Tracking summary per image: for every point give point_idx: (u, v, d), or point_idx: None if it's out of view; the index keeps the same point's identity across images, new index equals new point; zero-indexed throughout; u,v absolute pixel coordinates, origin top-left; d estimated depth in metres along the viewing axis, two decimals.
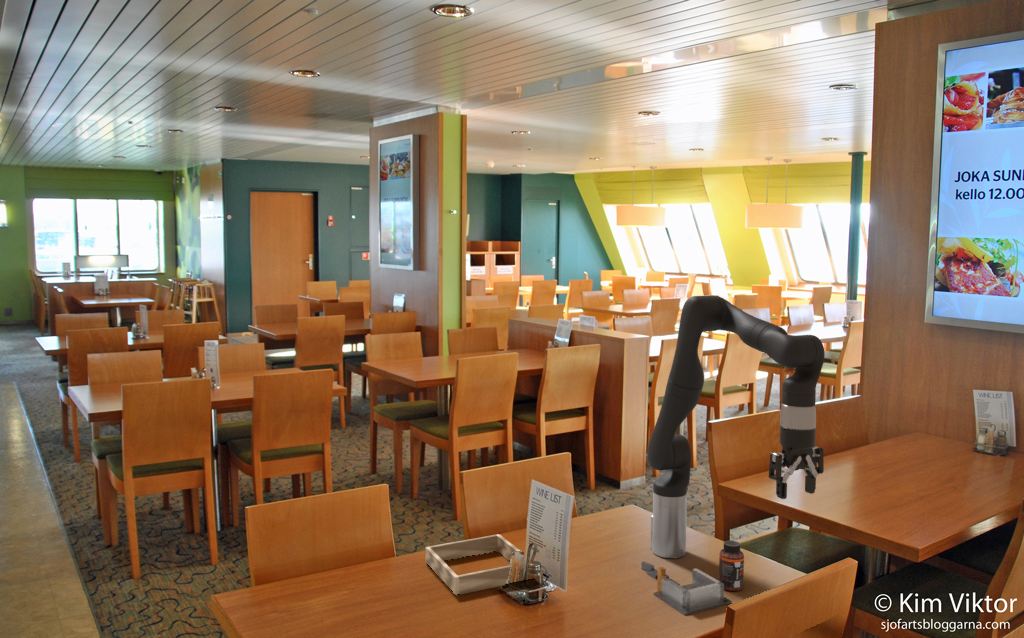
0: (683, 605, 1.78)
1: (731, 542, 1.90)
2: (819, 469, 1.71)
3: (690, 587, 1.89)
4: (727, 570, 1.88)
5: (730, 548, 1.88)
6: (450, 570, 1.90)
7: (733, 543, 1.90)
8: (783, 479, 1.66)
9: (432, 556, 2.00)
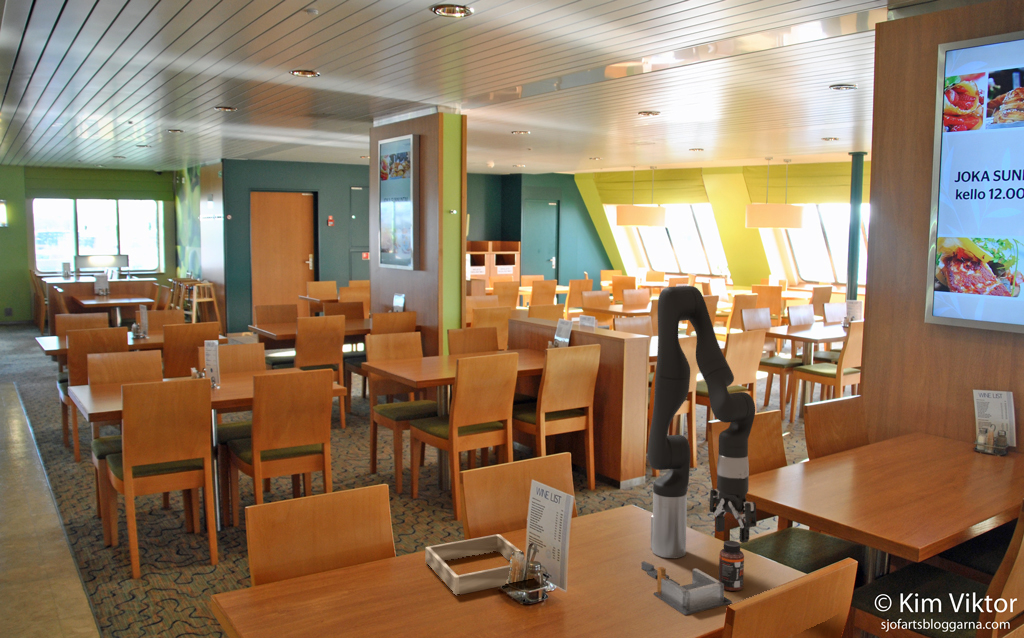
0: (683, 605, 1.78)
1: (731, 542, 1.90)
2: None
3: (690, 587, 1.89)
4: (727, 570, 1.88)
5: (730, 548, 1.88)
6: (450, 570, 1.90)
7: (733, 543, 1.89)
8: None
9: (432, 556, 2.00)
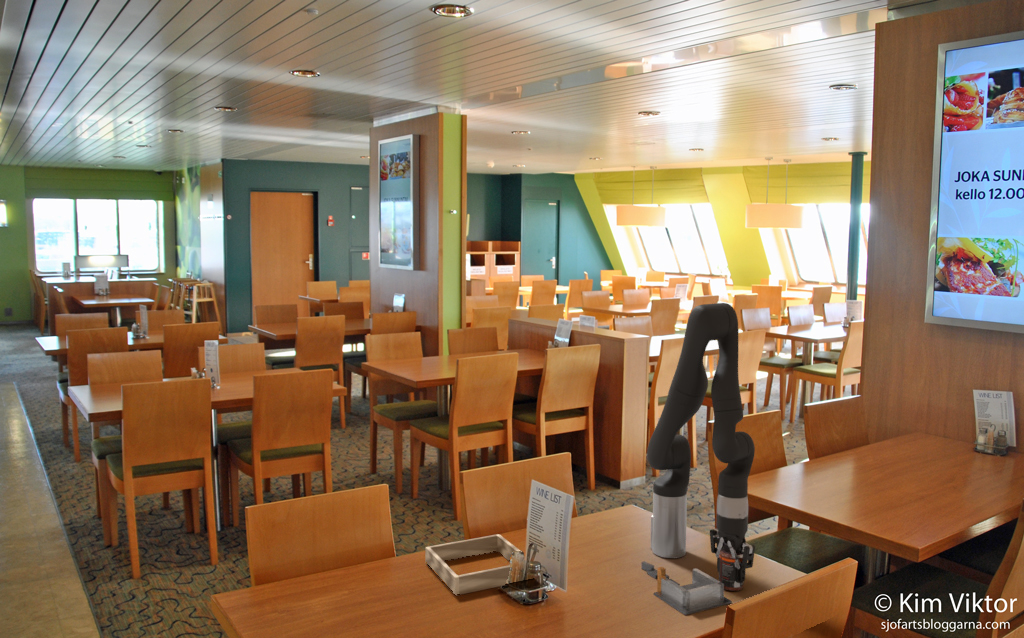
0: (683, 605, 1.78)
1: None
2: None
3: (690, 587, 1.89)
4: (727, 570, 1.88)
5: None
6: (450, 570, 1.90)
7: None
8: None
9: (432, 556, 2.00)
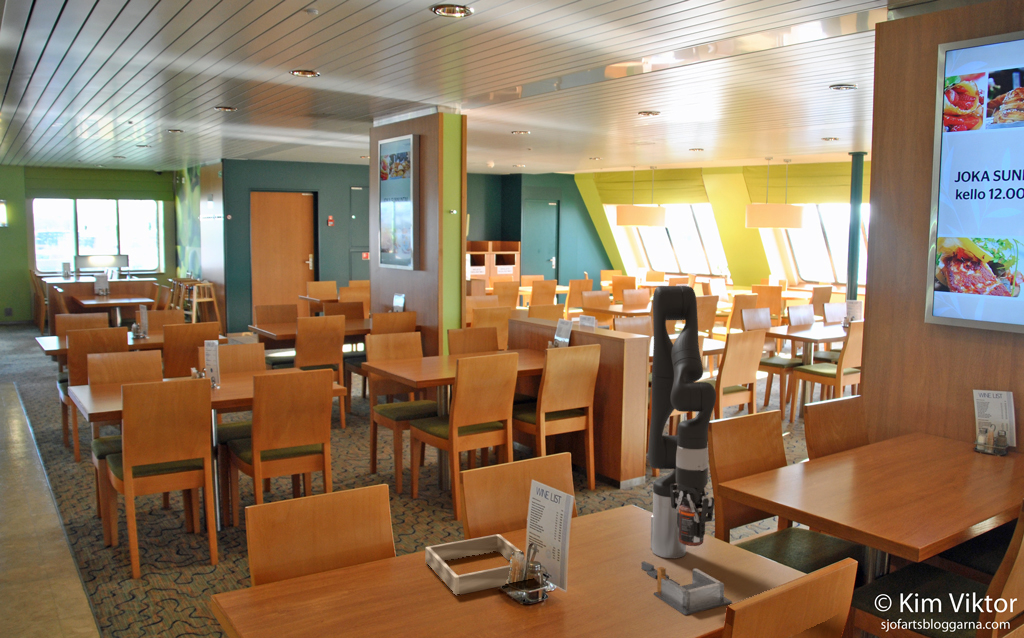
0: (683, 605, 1.78)
1: None
2: None
3: (690, 587, 1.89)
4: (686, 524, 1.81)
5: None
6: (450, 570, 1.90)
7: None
8: None
9: (432, 556, 2.00)
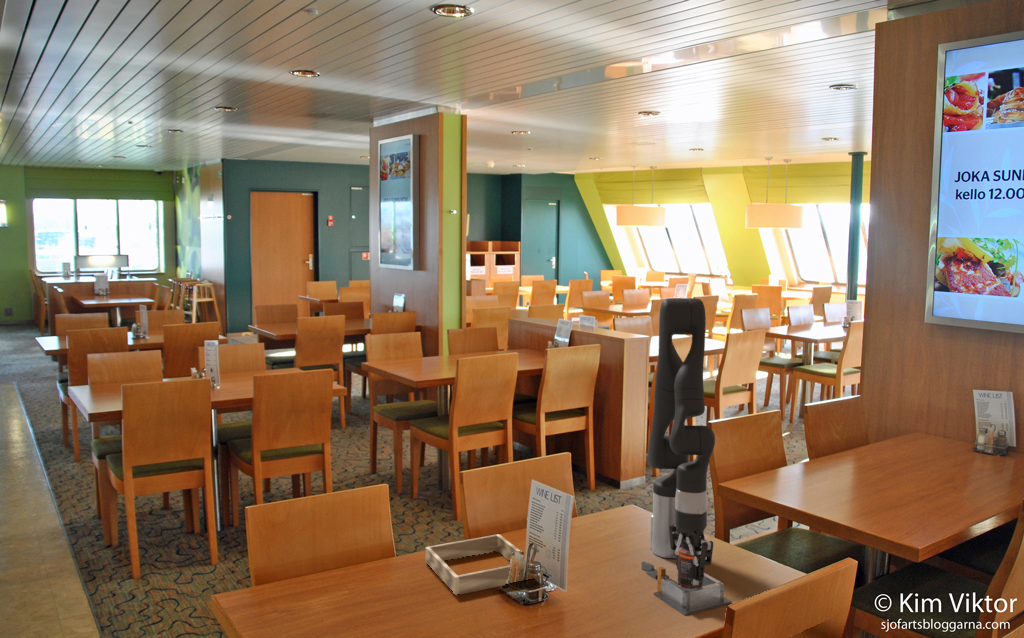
0: (683, 605, 1.78)
1: None
2: None
3: None
4: (685, 567, 1.82)
5: None
6: (450, 570, 1.90)
7: None
8: None
9: (432, 556, 2.00)
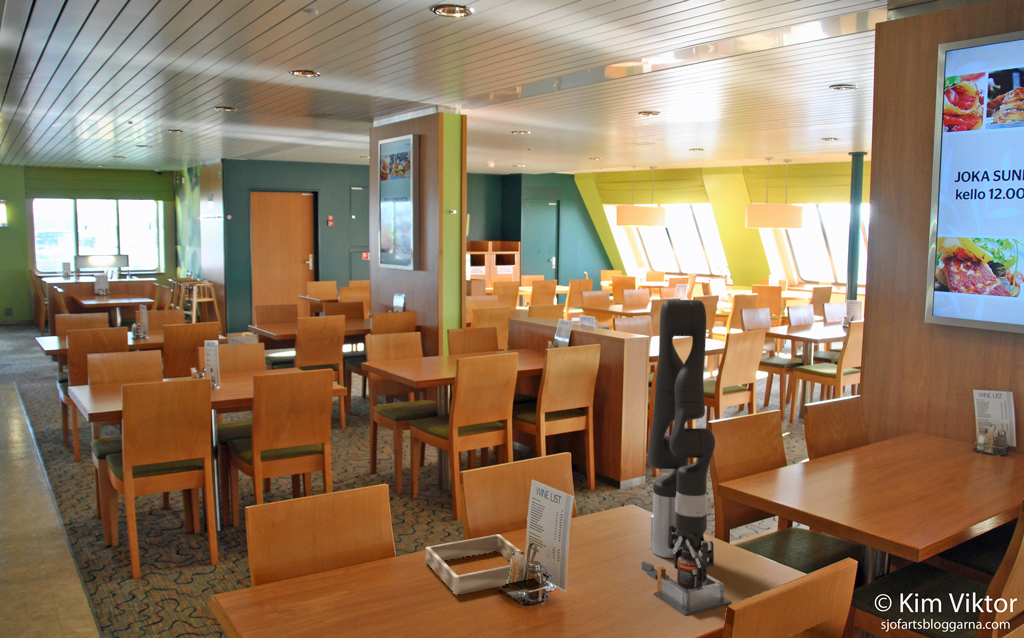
0: (683, 605, 1.78)
1: None
2: None
3: None
4: (684, 578, 1.82)
5: (688, 555, 1.82)
6: (450, 570, 1.90)
7: None
8: None
9: (432, 556, 2.00)
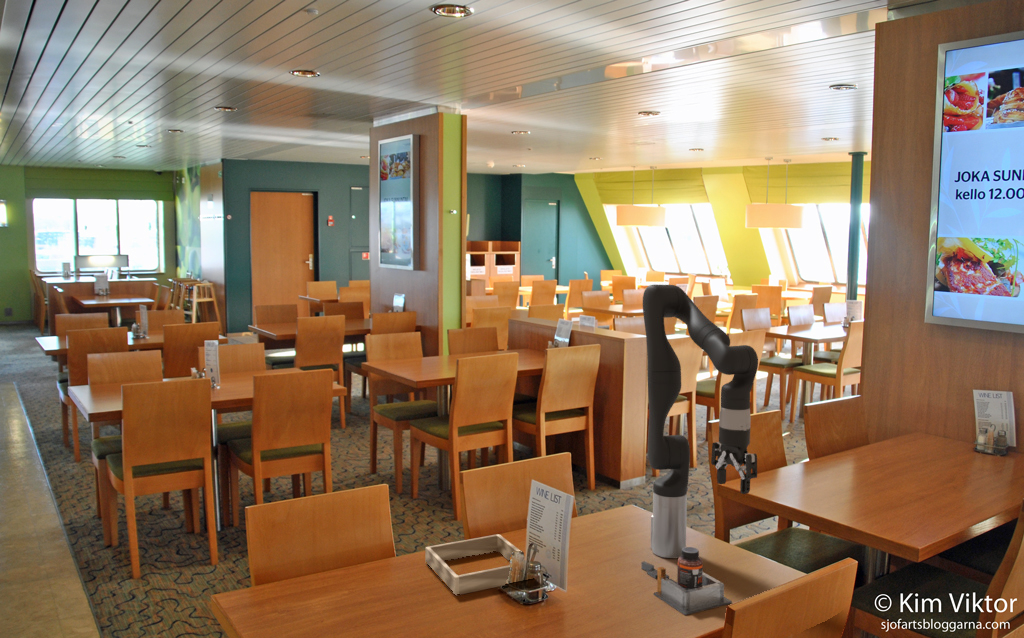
0: (683, 605, 1.78)
1: (689, 549, 1.84)
2: None
3: None
4: (684, 578, 1.82)
5: (688, 555, 1.82)
6: (450, 570, 1.90)
7: (691, 549, 1.84)
8: None
9: (432, 556, 2.00)
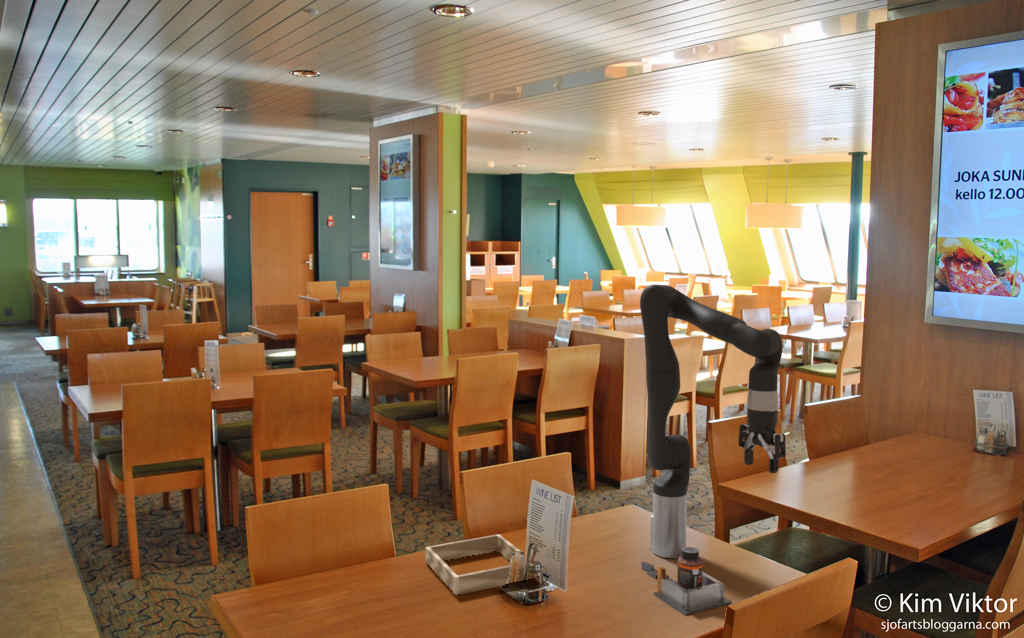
0: (683, 605, 1.78)
1: (689, 549, 1.84)
2: None
3: None
4: (684, 578, 1.82)
5: (688, 555, 1.82)
6: (450, 570, 1.90)
7: (691, 549, 1.84)
8: None
9: (432, 556, 2.00)
